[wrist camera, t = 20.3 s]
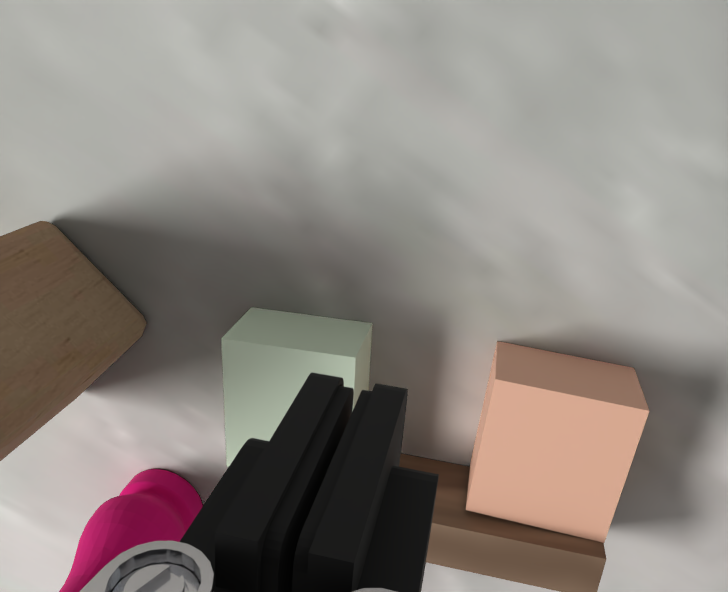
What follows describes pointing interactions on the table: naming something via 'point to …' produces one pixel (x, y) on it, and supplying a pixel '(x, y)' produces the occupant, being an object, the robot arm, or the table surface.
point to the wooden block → (53, 328)
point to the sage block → (284, 367)
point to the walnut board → (503, 540)
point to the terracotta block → (555, 440)
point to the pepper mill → (134, 522)
